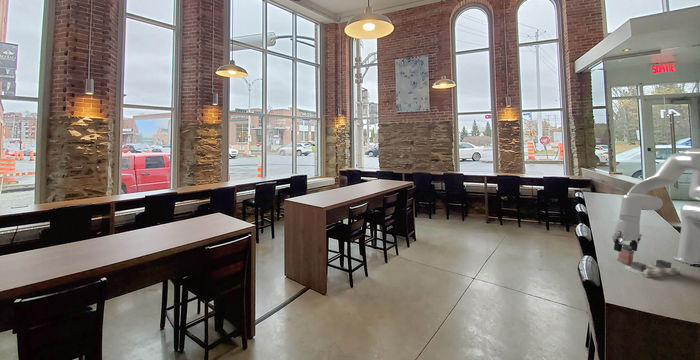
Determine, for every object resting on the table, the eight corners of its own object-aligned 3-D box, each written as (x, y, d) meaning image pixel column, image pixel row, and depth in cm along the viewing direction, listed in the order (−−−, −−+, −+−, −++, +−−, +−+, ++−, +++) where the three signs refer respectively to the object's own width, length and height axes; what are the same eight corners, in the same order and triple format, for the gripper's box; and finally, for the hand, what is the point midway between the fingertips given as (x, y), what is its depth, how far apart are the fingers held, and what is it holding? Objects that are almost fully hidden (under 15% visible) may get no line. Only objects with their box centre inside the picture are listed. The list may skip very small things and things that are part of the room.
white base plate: (656, 266, 144) (658, 258, 143) (680, 274, 135) (681, 265, 135) (624, 269, 141) (625, 260, 140) (646, 277, 132) (647, 268, 131)
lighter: (634, 266, 144) (636, 247, 143) (626, 265, 145) (629, 247, 144) (622, 260, 152) (624, 242, 151) (615, 259, 153) (617, 241, 152)
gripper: (634, 216, 151) (630, 247, 153) (607, 217, 148) (603, 248, 150) (651, 220, 144) (647, 252, 145) (623, 220, 141) (619, 253, 143)
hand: (625, 250), depth 148 cm, fingers open, 9 cm apart
